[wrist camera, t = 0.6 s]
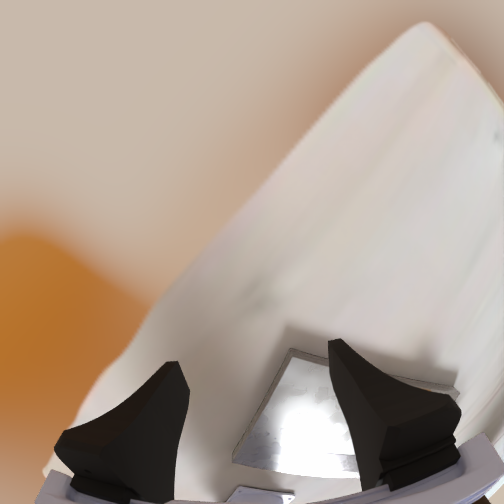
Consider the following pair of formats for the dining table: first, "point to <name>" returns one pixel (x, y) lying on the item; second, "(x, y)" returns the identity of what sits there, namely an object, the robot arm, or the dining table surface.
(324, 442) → the panel
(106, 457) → the robot arm
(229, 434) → the dining table surface
